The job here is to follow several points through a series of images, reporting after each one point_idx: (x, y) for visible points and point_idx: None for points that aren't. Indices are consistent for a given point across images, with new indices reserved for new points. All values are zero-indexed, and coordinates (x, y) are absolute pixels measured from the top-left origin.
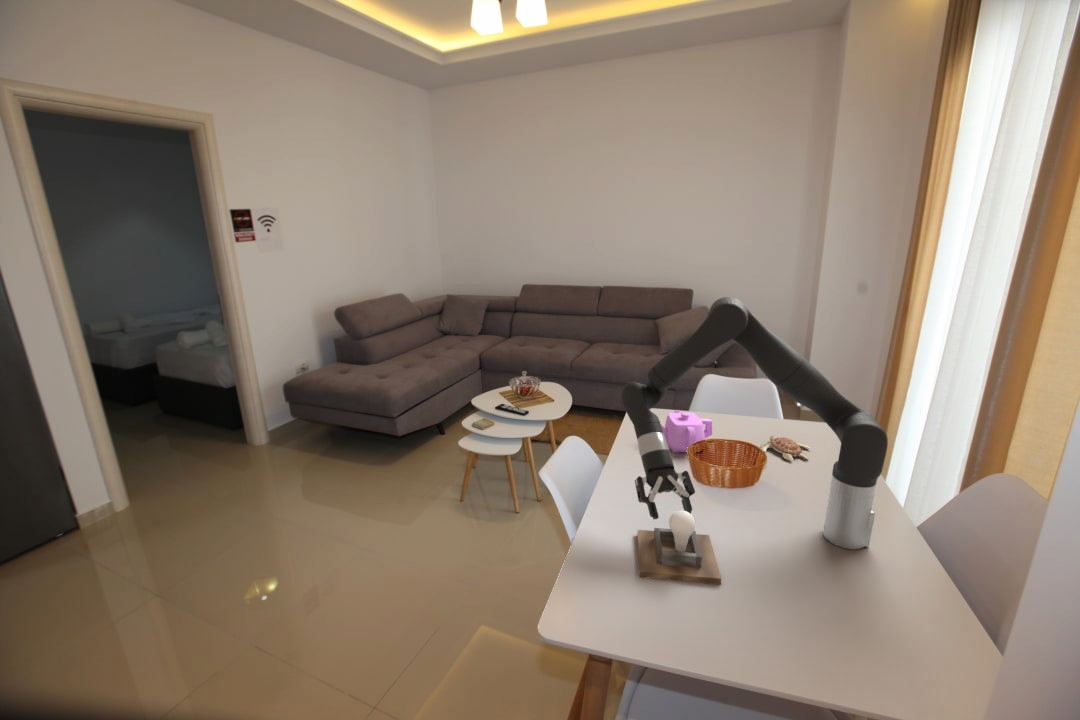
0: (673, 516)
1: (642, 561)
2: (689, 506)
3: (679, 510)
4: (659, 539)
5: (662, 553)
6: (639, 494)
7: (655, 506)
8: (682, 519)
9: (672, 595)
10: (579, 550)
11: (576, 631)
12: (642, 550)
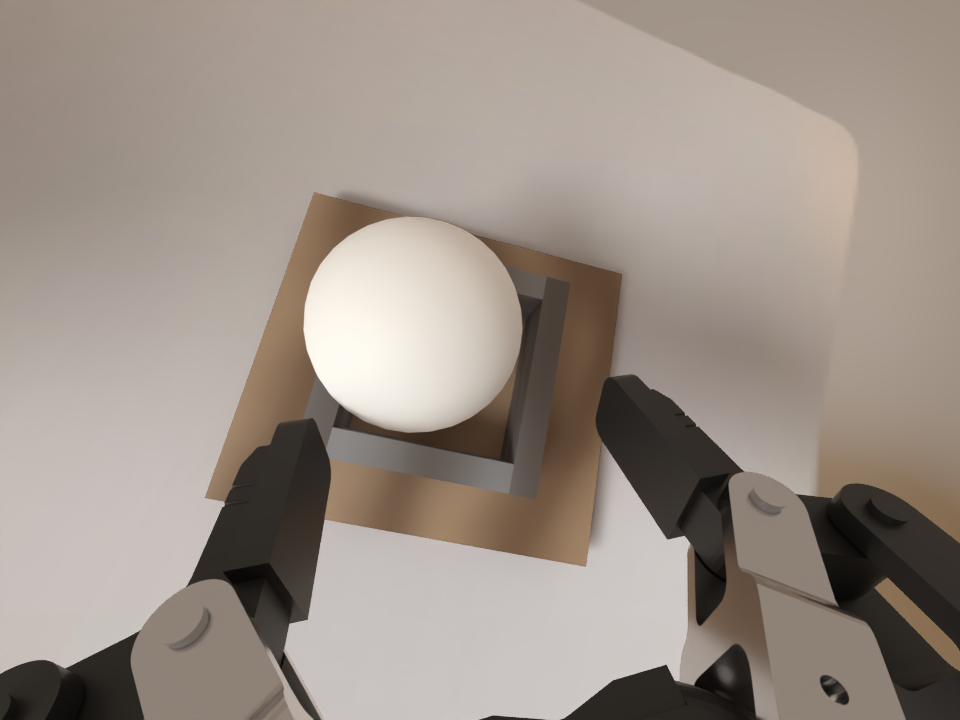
0: (506, 305)
1: (602, 328)
2: (263, 466)
3: (429, 351)
4: (534, 385)
5: (546, 278)
6: (906, 641)
7: (672, 437)
8: (444, 231)
9: (518, 190)
10: (812, 453)
11: (793, 123)
12: (590, 396)
